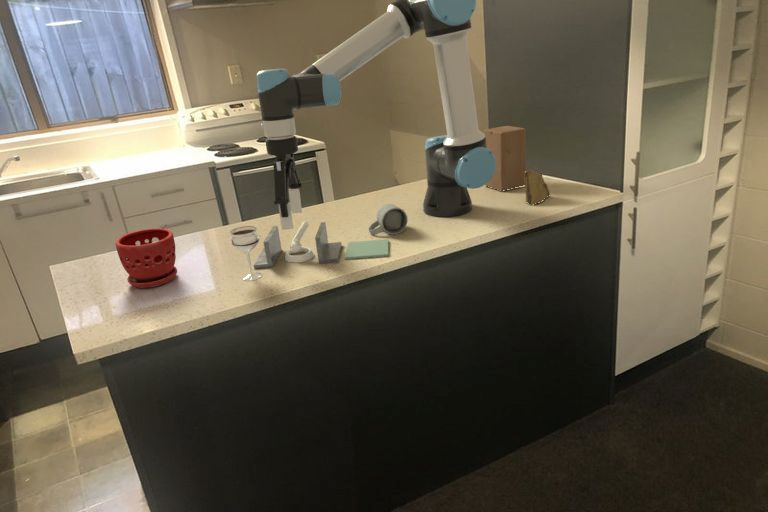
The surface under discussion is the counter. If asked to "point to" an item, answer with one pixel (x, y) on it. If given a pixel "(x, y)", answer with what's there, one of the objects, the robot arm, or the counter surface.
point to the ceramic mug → (389, 220)
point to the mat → (367, 249)
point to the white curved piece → (299, 247)
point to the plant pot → (148, 257)
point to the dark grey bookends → (273, 248)
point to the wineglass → (246, 245)
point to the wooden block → (507, 156)
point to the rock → (535, 187)
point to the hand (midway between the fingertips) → (292, 220)
